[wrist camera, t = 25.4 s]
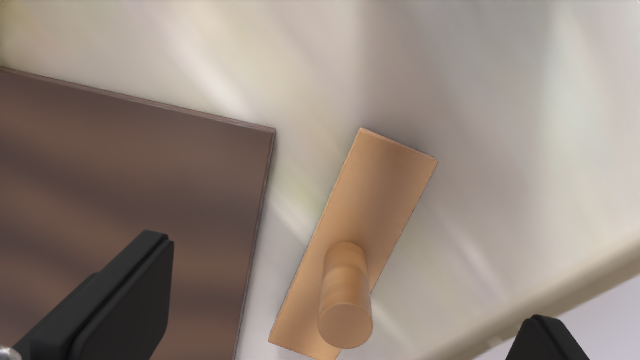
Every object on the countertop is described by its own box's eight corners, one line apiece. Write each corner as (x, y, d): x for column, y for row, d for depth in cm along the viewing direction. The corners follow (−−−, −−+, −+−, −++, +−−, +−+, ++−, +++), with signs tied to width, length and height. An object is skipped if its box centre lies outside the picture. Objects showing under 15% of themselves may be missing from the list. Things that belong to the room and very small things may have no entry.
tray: (-15, 63, 23) (-31, 63, 22) (276, 128, 23) (273, 131, 22) (0, 375, 30) (-11, 386, 29) (222, 424, 30) (218, 436, 29)
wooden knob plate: (273, 319, 27) (244, 424, 19) (359, 122, 23) (365, 159, 15) (333, 342, 27) (328, 454, 20) (430, 151, 23) (472, 202, 15)
